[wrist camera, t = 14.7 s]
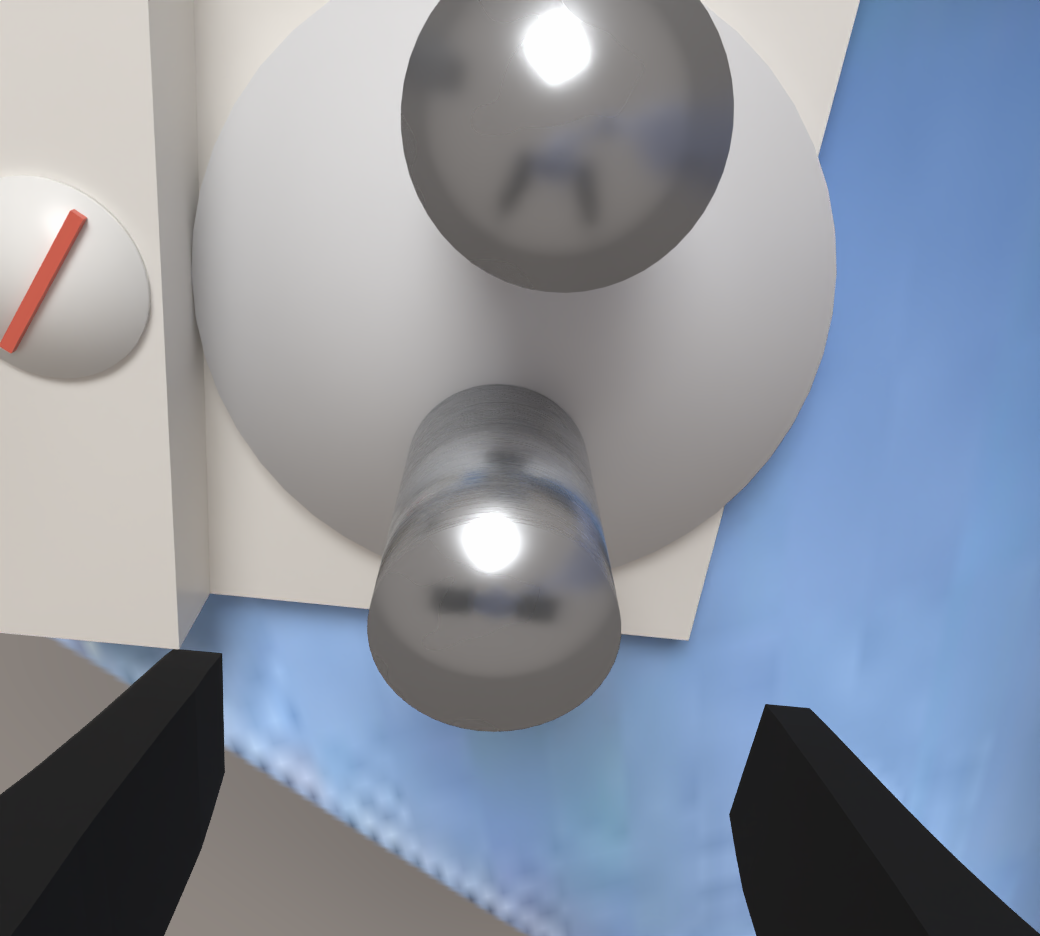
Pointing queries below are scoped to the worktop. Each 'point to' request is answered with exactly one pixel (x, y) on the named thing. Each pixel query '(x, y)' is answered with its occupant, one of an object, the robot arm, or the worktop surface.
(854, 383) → the worktop surface
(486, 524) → the cylinder
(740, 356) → the scale
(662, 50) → the cylinder
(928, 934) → the robot arm
